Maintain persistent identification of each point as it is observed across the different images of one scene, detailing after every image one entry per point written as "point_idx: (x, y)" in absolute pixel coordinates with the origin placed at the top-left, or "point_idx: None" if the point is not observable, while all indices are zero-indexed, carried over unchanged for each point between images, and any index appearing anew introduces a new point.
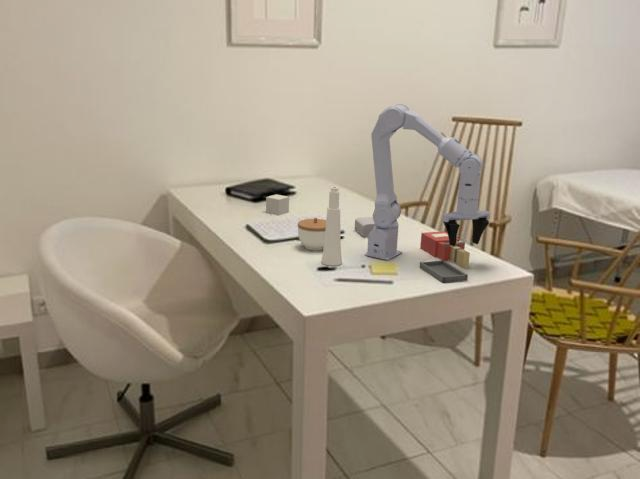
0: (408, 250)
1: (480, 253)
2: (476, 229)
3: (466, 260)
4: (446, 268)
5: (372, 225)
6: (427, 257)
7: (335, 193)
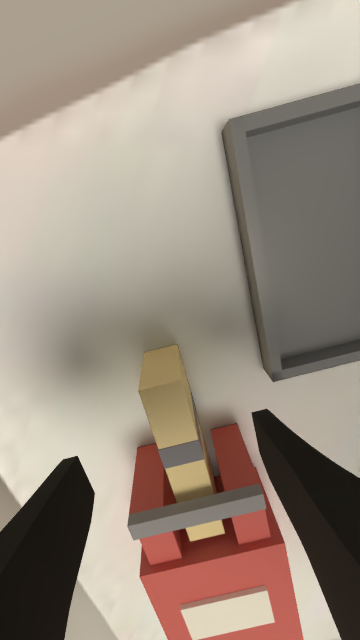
0: None
1: None
2: (36, 607)
3: (158, 363)
4: (275, 305)
5: None
6: None
7: None
